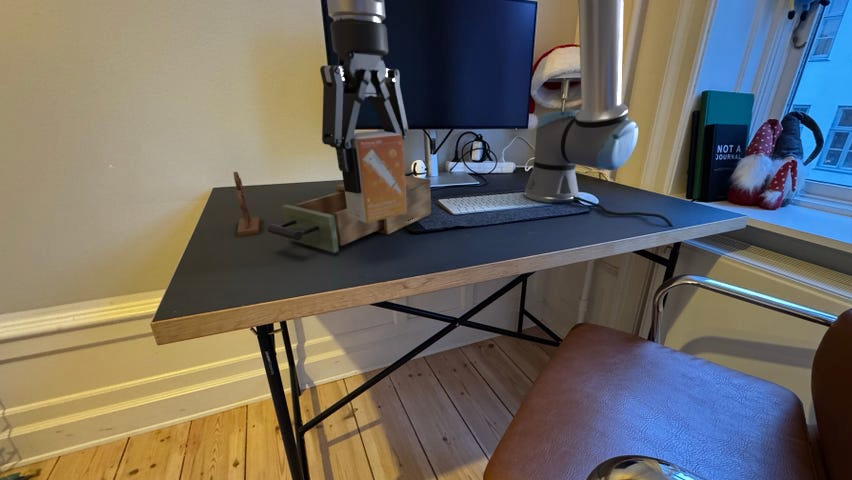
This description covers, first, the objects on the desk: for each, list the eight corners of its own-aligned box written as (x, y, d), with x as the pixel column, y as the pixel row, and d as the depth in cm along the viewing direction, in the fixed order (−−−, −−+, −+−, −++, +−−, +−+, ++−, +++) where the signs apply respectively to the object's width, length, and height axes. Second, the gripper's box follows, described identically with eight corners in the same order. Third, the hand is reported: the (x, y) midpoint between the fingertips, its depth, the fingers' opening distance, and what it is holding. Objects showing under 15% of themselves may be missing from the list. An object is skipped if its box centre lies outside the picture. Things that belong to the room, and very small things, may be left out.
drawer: (309, 263, 62) (302, 225, 59) (263, 248, 67) (254, 213, 64) (389, 228, 79) (387, 196, 76) (346, 218, 84) (343, 188, 81)
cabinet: (387, 234, 78) (384, 194, 74) (340, 223, 83) (335, 185, 80) (431, 214, 91) (430, 179, 87) (388, 205, 96) (385, 172, 93)
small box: (366, 224, 58) (356, 138, 52) (347, 215, 62) (335, 134, 56) (408, 213, 63) (403, 133, 57) (387, 205, 67) (380, 130, 61)
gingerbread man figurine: (259, 233, 77) (245, 175, 71) (237, 236, 75) (222, 177, 70) (259, 220, 84) (246, 167, 79) (240, 222, 82) (225, 168, 77)
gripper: (312, 5, 40) (341, 205, 50) (426, 29, 57) (431, 175, 67) (268, 10, 43) (304, 197, 53) (388, 32, 60) (398, 170, 70)
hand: (374, 185), depth 60 cm, fingers closed on small box, 9 cm apart
